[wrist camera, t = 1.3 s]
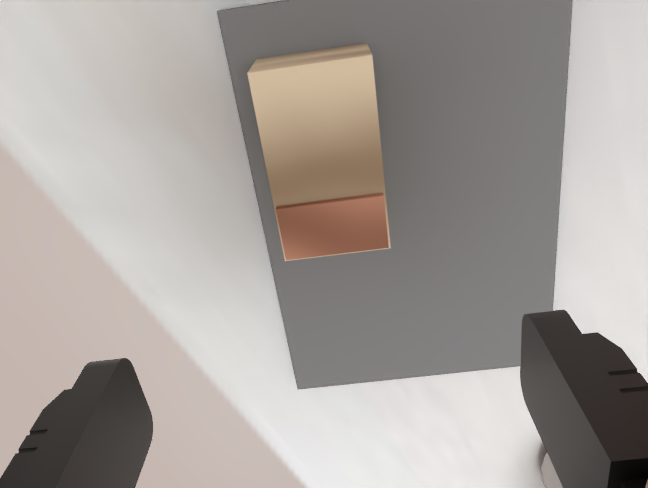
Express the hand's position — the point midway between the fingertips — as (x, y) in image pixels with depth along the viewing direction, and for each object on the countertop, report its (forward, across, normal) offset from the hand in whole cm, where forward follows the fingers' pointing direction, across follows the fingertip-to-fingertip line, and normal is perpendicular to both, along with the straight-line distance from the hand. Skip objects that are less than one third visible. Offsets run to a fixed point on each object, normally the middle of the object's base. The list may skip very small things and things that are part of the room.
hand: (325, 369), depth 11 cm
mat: (+15, -3, +4) cm, 16 cm away
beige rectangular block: (+15, 0, 0) cm, 15 cm away
